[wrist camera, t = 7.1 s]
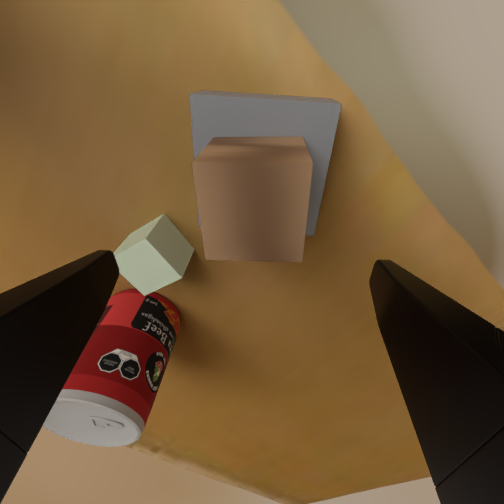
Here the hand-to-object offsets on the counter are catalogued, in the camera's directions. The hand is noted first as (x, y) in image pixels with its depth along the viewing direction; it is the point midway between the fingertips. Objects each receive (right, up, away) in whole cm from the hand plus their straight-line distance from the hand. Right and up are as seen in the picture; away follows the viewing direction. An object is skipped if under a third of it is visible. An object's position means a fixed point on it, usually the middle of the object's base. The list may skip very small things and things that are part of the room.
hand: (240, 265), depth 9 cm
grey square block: (+1, +7, +10) cm, 12 cm away
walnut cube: (+1, +5, +7) cm, 9 cm away
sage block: (-7, +1, +14) cm, 16 cm away
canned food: (-11, -6, +20) cm, 23 cm away
